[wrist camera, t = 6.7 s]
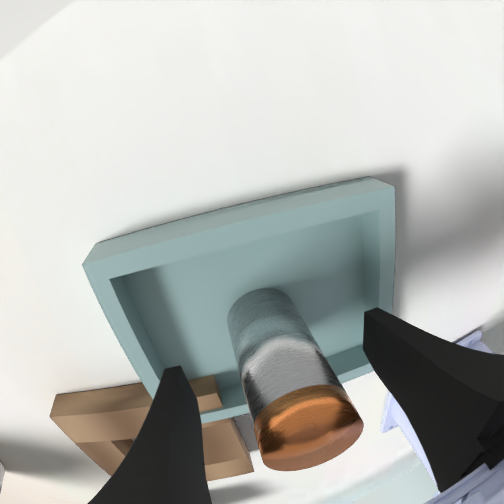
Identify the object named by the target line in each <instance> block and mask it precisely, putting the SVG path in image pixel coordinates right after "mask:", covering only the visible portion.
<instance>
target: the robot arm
mask: <svg viewBox="0 0 504 504" xmlns="http://www.w3.org/2000/svg"><path fill="white" fill-rule="evenodd" d="M481 337H482V332H481V331H480V330H478V331H476V332H474V333H473V334H471V335H469V336H468V337H466V338H464V339H463V340H461V341H459V342H458V343H456V344H455V343H452V342H449V341H446V340H444V339H441V338H439V337H437V336H434V335H432V334H430V333H428V332H425V331H423V330H421V329H419V328H417V327H415V326H413V325H411V324H409V323H407V322H405V321H403V320H401V319H399V318H398V317H396V316H394V315H392V314H390V313H388V312H386V311H384V310H382V309H380V308H378V307H376V308H374V309H371V310H368V311H365V312H364V330H363V351H364V353H365V355H366V357H367V359H368V361H369V362H370V364H371V366H372V368H373V369H374V371H375V372H376V374H377V375H378V376H379V378H380V379H381V381H382V382H383V383H384V385H385V386H386V387H387V389H388V390H389V394H388V399H387V403H386V408H385V412H384V416H383V421H382V425H381V429H380V430H381V432H382V433H385V432H387V431H389V430H391V429H393V428H395V427H397V426H399V428H400V429H401V431H402V432H403V434H404V435H405V437H406V438H407V440H408V442H409V443H410V445H411V446H412V448H413V449H414V451H415V452H416V454H417V456H418V457H419V459H420V460H421V462H422V463H423V465H424V466H425V468H426V470H427V471H428V473H429V475H430V476H431V478H432V479H433V481H434V482H435V484H436V486H437V487H438V490H439V491H438V492H437V493H435V494H434V495H433V497H434V498H433V499H431V500H429V501H428V502H426V503H425V504H504V355H499V354H494V353H493V352H492V351H491V350H490V349H489V348H488V347H487V346H486V345H485V344H484V343H483V342H482V341H481ZM88 504H212V502H211V498H210V494H209V489H208V485H207V480H206V473H205V463H204V451H203V437H202V423H201V417H200V411H199V406H198V401H197V398H196V396H195V394H194V392H193V390H192V388H191V386H190V384H189V382H188V380H187V378H186V376H185V374H184V372H183V369H182V367H181V365H179V366H175V367H170V368H165V370H164V371H163V374H162V377H161V380H160V382H159V385H158V388H157V391H156V393H155V396H154V399H153V401H152V404H151V406H150V409H149V411H148V413H147V416H146V418H145V420H144V422H143V424H142V427H141V429H140V431H139V433H138V435H137V437H136V439H135V441H134V442H133V444H132V446H131V448H130V450H129V451H128V453H127V455H126V456H125V458H124V459H123V461H122V462H121V464H120V465H119V467H118V468H117V470H116V471H115V473H114V474H113V475H112V477H111V478H110V479H109V480H108V482H107V483H106V484H105V485H104V486H103V488H102V489H101V490H100V491H99V492H98V493H97V495H96V496H95V497H94V498H93V499H92V500H91V501H90V502H89V503H88Z"/></svg>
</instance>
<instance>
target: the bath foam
mask: <svg viewBox="0 0 504 504" xmlns="http://www.w3.org/2000/svg"><path fill="white" fill-rule="evenodd" d="M4 473H5V469H4V466H3V465H2V463H1V462H0V492H1V487H2V482H3V478H4Z"/></svg>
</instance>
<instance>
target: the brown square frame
mask: <svg viewBox="0 0 504 504" xmlns="http://www.w3.org/2000/svg"><path fill="white" fill-rule="evenodd" d="M188 382H189V384H190V386H191V388H192V390H193V392H194V394H195V396H196V398H197V401H198V406H199V411H200V412H202V411H207V410H211V409H216V408H220V407H223V405H222V399H221V394H220V388H219V386H218V384H217V381H216V379H215V376H214V374H213V375H209V376H205V377H201V378H196V379H192V380H188ZM152 401H153V399H152V397H151V396H150V394H149V392H148V391H147V389H146V388H145V386H144V384H143V383H137V384H132V385H126V386H120V387H113V388H107V389H100V390H92V391H85V392H77V393H68V394H59V395H56V397H55V400H54V403H53V407H52V410H51V413H50V418H51V419H52V420H53V421H54V422H55V423H56V424H57V426H58V427H59V428H60V429H61V430H62V431H63V432H64V433H65V434H66V435H67V436H68V437H69V438H70V439H71V440H72V441H73V442H74V443H75V444H76V445H77V446H78V447H79V448H80V449H81V450H82V451H83V452H84V453H86V454H87V455H88V456H89V457H90V458H91V459H92V460H93V461H94V462H95V463H97V464H98V465H99V466H100V467H101V468H102V469H103V470H105V471H106V472H107V473H108V474H109V475H111V476H112V475H113V474H114V473H115V471H116V470H117V468H118V467H119V465H120V464H121V462H122V461H123V459H124V458H125V456H126V455H127V453H128V451H129V450H130V448H131V446H132V444H133V441H132V440H131V439H135V438H136V437H137V435H138V433H139V431H140V429H141V427H142V424H143V422H144V420H145V418H146V416H147V413H148V411H149V409H150V406H151V404H152ZM202 437H203V451H204V463H205V473H206V480H207V481H212V480H217V479H223V478H228V477H233V476H238V475H242V474H247V473H251V472H254V469H253V465H252V461H251V457H250V453H249V451H248V449H247V447H246V444H245V442H244V440H243V438H242V436H241V433H240V431H239V429H238V427H237V424H236V422H235V420H234V418H233V417H230V418H226V419H221V420H217V421H212V422H208V423H203V424H202Z"/></svg>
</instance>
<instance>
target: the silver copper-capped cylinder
mask: <svg viewBox="0 0 504 504" xmlns="http://www.w3.org/2000/svg"><path fill="white" fill-rule="evenodd" d="M227 326H228V330H229V334H230V338H231V343H232V347H233V351H234V355H235V359H236V363H237V367H238V371H239V375H240V379H241V383H242V387H243V390H244V394H245V398H246V402H247V406H248V409H249V413H250V417H251V421H252V424H253V428H254V432H255V435H256V439H257V442H258V446H259V450H260V453H261V457H262V460H263V463H264V464H265V465H266V466H267V467H269V468H271V469H273V470H278V471H296V470H302V469H307V468H310V467H314V466H317V465H319V464H322V463H324V462H327V461H329V460H331V459H333V458H335V457H336V456H338V455H340V454H341V453H343V452H344V451H345V450H347V449H348V448H349V447H350V446H352V445H353V444H354V443H355V442H356V440H357V439H358V438H359V436H360V435H361V433H362V431H363V427H364V424H363V421H362V419H361V417H360V416H359V414H358V412H357V410H356V409H355V407H354V405H353V404H352V402H351V400H350V398H349V397H348V395H347V393H346V391H345V390H344V388H343V386H342V385H341V383H340V381H339V379H338V378H337V376H336V374H335V373H334V371H333V369H332V367H331V366H330V364H329V362H328V360H327V359H326V357H325V355H324V354H323V352H322V350H321V349H320V347H319V345H318V343H317V342H316V340H315V338H314V337H313V335H312V333H311V331H310V330H309V328H308V326H307V325H306V323H305V321H304V320H303V318H302V316H301V314H300V313H299V311H298V309H297V308H296V306H295V304H294V303H293V301H292V299H291V298H290V297H289V296H288V295H287V294H286V293H284V292H282V291H280V290H277V289H273V288H261V289H256V290H253V291H250V292H248V293H246V294H244V295H243V296H241V297H240V298H239V299H238V300H237V301H236V302H235V303H234V304H233V305H232V307H231V308H230V310H229V313H228V316H227Z"/></svg>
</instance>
